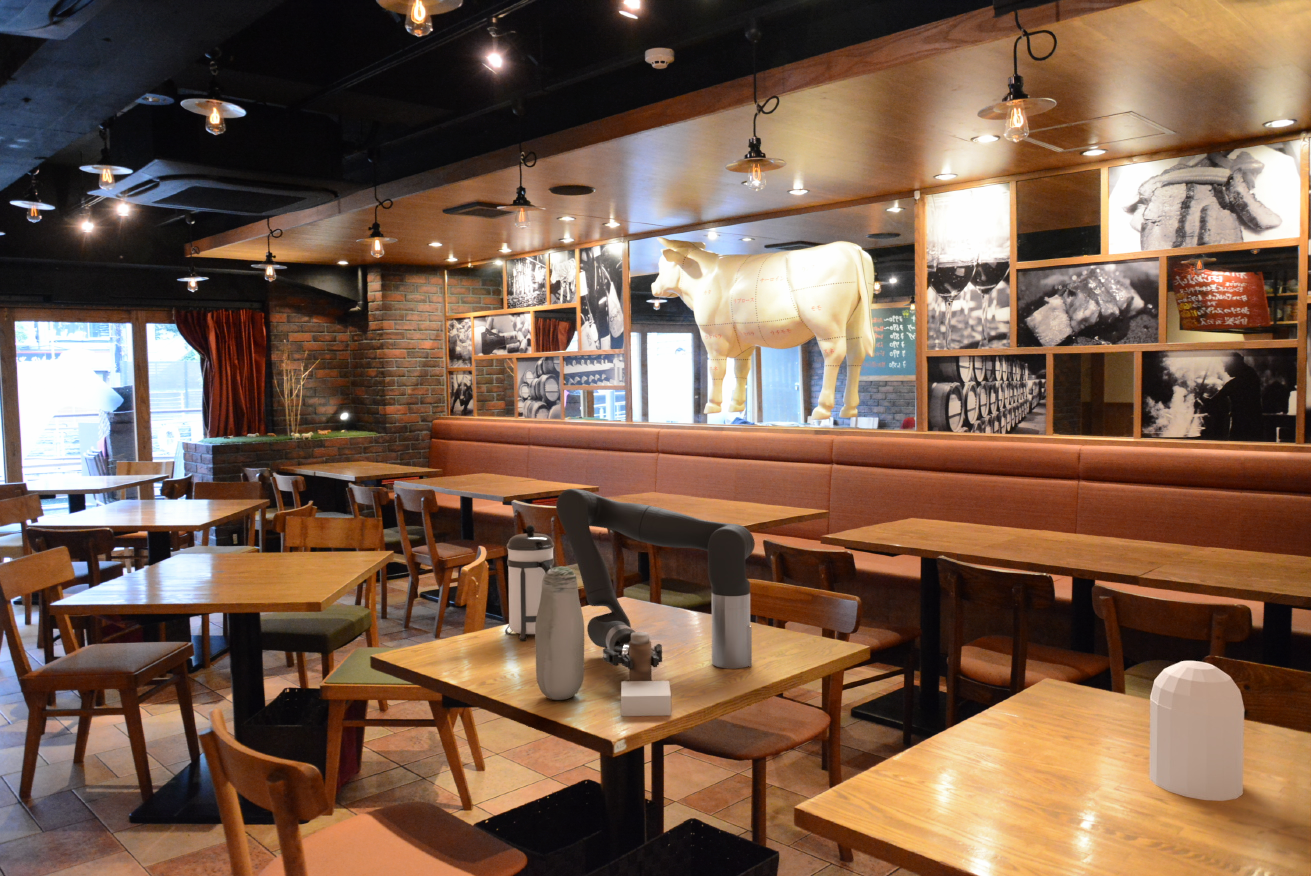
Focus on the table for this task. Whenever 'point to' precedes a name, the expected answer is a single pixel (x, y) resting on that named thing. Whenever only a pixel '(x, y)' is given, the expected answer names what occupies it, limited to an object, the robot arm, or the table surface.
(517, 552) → the coffee press
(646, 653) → the pepper mill
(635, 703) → the riser block
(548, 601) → the grey vase
